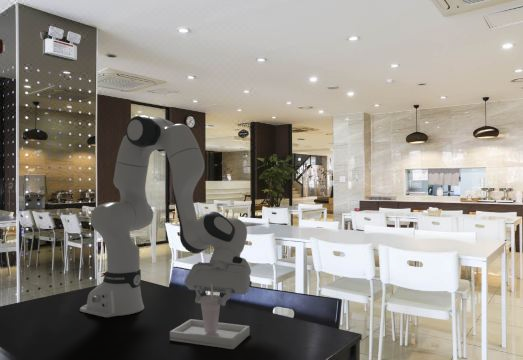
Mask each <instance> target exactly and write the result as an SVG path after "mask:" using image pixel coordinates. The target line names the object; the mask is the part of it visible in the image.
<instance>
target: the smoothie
mask: <svg viewBox="0 0 523 360" xmlns="http://www.w3.org/2000/svg"><path fill="white" fill-rule="evenodd" d="M220 297H221V295H217V294H214V292H213V283H211V292H210V294H207V295H203V296H202V297H201V298H200V301H199V302H200V303H199V304H200V308H201V314H202V320H203V322H204V328H205V332H206V333H214V332H217V330H218V322H219V318H220V310H221V309H220V308H221V305H219V303H218V302H219V299H220Z"/></svg>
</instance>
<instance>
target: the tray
mask: <svg viewBox="0 0 523 360" xmlns="http://www.w3.org/2000/svg"><path fill="white" fill-rule="evenodd" d="M250 326H251V325H245V324H244V325H242V324H237V323H236V324H234V323H227V322H226V323H225V322H219V321H218V330H217V332H214V333H206V332H205V328H204V322H203V319H202V320H200V319H191V318H190V319H188V320H186V321H185V322H184V323H181V325H178V326H177V327H175V328H174V329H171V330H170V331H169V341H173V342H179V343H186V344H187V343H188V344H194V345H202V346H208V347H209V346H210V347H217V348H222V349H229V350H234V349H235V348H237V347H238V346H239V345H240V344H241V343H242V342H243V341H244V340H246V338H248V337H249V336H250V333H251V332H250V331H251V330H250V329H251V328H250Z"/></svg>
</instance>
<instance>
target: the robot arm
mask: <svg viewBox="0 0 523 360" xmlns="http://www.w3.org/2000/svg"><path fill="white" fill-rule="evenodd" d="M126 124H127V125H126V126H125V127H126V128H125V135H124V136H123V138H122V140H121V143H120V146H119V148H118V152H117V156H116V163H115V168H114V175H113V180H112V181H113V185H114V186H115V188H116V189H118V191H119V196H120V198H119V199H120V200H119V201H110V202H106V203H102V204H99V205H97V206H95V207H94V209H93V210H92V212H91V215H90V223H91V226H92V228H93V230H95V231H96V232H97V233H98V234H99V235H100V236H101V238H102V240H103V243H104V244H105V245H104V246H105V249H106V264H107V266H106V267H107V268H106V271H105V272H103V273H101V276H100V277H101V278H102V277H103V279H102V282H100V283H99V284H98V285H97V286H96V287H94V288H93V289H92V290H91V291H90V292H89V293H88V295H87V301H86V304H84V305H82V306H81V307H80V308H79V311H80V312H82V313H86V314H90V315H95V316H98V317H102V318H103V317H104V318H111V317H118V316H126V315H131V314H135V313H136V314H137V313H139V312H141V311H144V309H145V306H144V302H143V298H142V292H141V279H142V274H141V273H142V270H141V268H140V248H139V246H138V245H137V244H136V243H134V242H133V240H132V237H131V233H130V232H132V231H140V230H141V229H144V228H146V227H148V226H150V225H151V224H152V222H153V219H154V211H153V209H152V207H151V205H150V204H149V202H148V199H147V194H146V183H147V176H148V169H149V163H150V157H151V154H152V153H153V152H155V151H157V152H159V153H160V152H165V154H166V156H167V160H168V162H169V166H170V170H171V177H172V196H173V200H174V205H175V209H176V214H177V219H178V223H179V240H180V243H181V245H182V247H183V248H184V249H185V250H186V251H188V252H189V253H191V254H200V253H202V252H204V251H205V250H206V249H208V248H209V247H213V252H212V254H211V258H210V260H209V261H208V262H201V261H199V262H197V263H195V264H193V265H192V266H191V268H190V270H189V272H188V274H187V276H186V278H185V280H184V284H185V286H186V288H187V289H188V290H189V291H195V294H196V296H195V299H194V302H195V303H196V304H201V303H200V302H199V301H200V298H201V297H203V296H202V295H201V294H203V292H210V293H211V283H213V293H221V294H222V293H223V294H224V295H223V296H222V297H221V296H220V299H219V302H218V303H219V305H220V306H222V307H224V306H226V303H227V301H228V300H230V299H231V297H232V296H233V294H234V295H242V296H243V295H246V294H247V293H248V292H249V289H250V285H251V276H250V275H251V274H252V269H251V267H250V266H251V265H249V263H248V262H249V261H248V260H246V258H243V257H241V254H242V253H243V251H244V248H245V245H246V243H247V242H246V241H247V238H248V237H247V235H248V229H247V226H246V223H244V221H242V220H240V219H238V218H235V217H232V218H229V217H226V216H224V215H223V214H221V213H220V212H219V211H209V212H207V213H206V214H204V215H202V216H200V217H199V218H198V217H197V212H196V208H195V202H194V192H195V188H196V186H197V184H198V183H199V181H200V179H201V178H202V176H203V174H204V172H205V159H204V156H203V153H202V151H201V148H200V146H199V143H198V141H197V138H196V137H195V134H194V133H193V132H192V130H191V129H190V127H189V126H187V125H186V124H184V123H177V122H174V121H172V120H168V119H165V118H163V117H154V116H147V115H136V116H132V118H131V117H130V119H129V121H128V122H127V123H126Z"/></svg>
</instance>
